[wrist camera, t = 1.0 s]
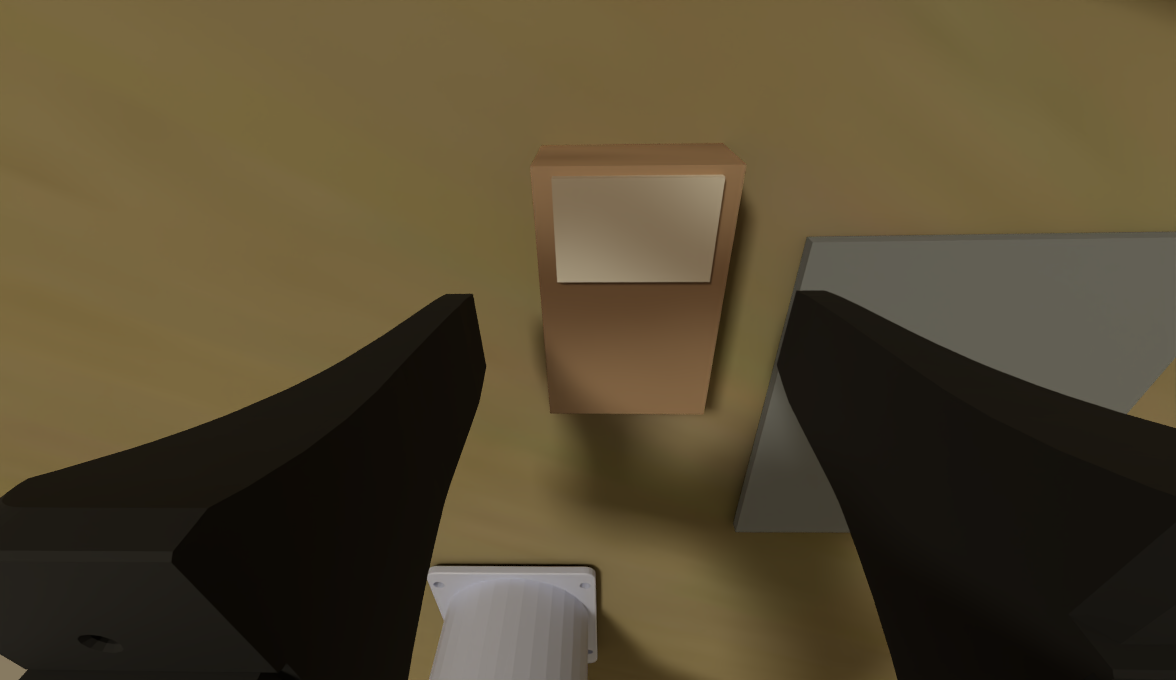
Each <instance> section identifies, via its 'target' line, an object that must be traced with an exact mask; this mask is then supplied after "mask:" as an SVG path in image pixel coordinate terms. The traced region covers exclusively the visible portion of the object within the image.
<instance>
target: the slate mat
mask: <svg viewBox="0 0 1176 680" xmlns="http://www.w3.org/2000/svg"><path fill="white" fill-rule="evenodd" d="M803 290H825V291H828V292H831V293H833V294H836V295H838V296H841V297H843V298H845V299H847V300H849V301H851V302H853V303H856V304H858V305H860V306H862V307H864V308H866V309H868V310H870V311H872V312H874V313H876V314H877V315H879V316H881V317H883V318H885V319H887V320H889V321H891V322H893V323H895V324H897V325H899V326H901V327H903V328H905V329H907V330H909V331H911V332H913V333H915V334H917V335H919V336H922V337H924V338H926V339H928V340H930V341H932V342H934V343H936V344H938V345H941V346H943V347H945V348H947V349H949V350H952V351H954V352H956V353H958V354H961V355H963V356H965V357H967V358H969V359H972V360H974V361H976V362H979V363H981V364H984V365H986V366H989V367H991V368H993V369H996V370H999V371H1001V372H1004V373H1006V374H1009V375H1012V376H1014V377H1017V378H1020V379H1022V380H1025V381H1028V382H1030V383H1033V384H1035V385H1038V386H1041V387H1044V388H1047V389H1049V390H1052V391H1055V392H1058V393H1061V394H1064V395H1067V396H1070V397H1073V398H1076V399H1079V400H1083V401H1086V402H1089V403H1092V404H1095V405H1098V406H1102V407H1105V408H1108V409H1111V410H1114V411H1117V412H1121V413H1124V414H1127V413H1128V412H1129V411H1130V410H1131V408H1132V407H1133V406H1134V405H1135V404H1136V403H1137V401H1138V400H1139V399H1140V398H1141V397H1142V396H1143V394H1144V393H1145V392H1146V391H1147V390H1148V389H1149V387H1150V386H1151V385H1152V384H1153V383H1154V382H1155V381H1156V379H1157V378H1158V377H1159V376H1160V375H1161V374H1162V372H1163V371H1164V370H1165V369H1166V368H1167V367H1168V365H1169V364H1170V363H1171V362H1172V361H1173V360H1174V358H1175V357H1176V232H1122V233H1050V234H978V235H907V236H835V237H807V239H806V243H805V247H804V251H803V255H802V258H801V262H800V266H799V270H798V274H797V278H796V282H795V286H794V290H793V293H792V297H791V301H790V305H789V309H788V313H787V317H786V321H785V324H784V328H783V332H782V336H781V340H780V344H779V348H778V352H777V356H776V359H775V363H774V367H773V371H772V375H771V379H770V383H769V387H768V391H767V394H766V398H765V402H764V406H763V410H762V414H761V418H760V422H759V425H758V429H757V433H756V437H755V441H754V445H753V449H752V453H751V457H750V460H749V464H748V468H747V472H746V476H745V480H744V484H743V488H742V492H741V495H740V499H739V503H738V507H737V511H736V515H735V519H734V523H733V525H734V528H735V532H850V531H849V528H848V525H847V523H846V520H845V517H844V515H843V512H842V509H841V507H840V504H839V502H838V500H837V498H836V496H835V493H834V491H833V489H832V487H831V485H830V483H829V481H828V479H827V477H826V475H825V473H824V471H823V469H822V467H821V465H820V463H819V461H818V459H817V457H816V455H815V453H814V451H813V449H812V448H811V446H810V444H809V442H808V440H807V438H806V436H805V434H804V432H803V430H802V428H801V426H800V424H799V422H798V420H797V418H796V416H795V414H794V412H793V410H792V408H791V406H790V404H789V402H788V399H787V396H786V393H785V390H784V387H783V384H782V381H781V378H780V374H779V371H778V368H777V361H778V357H779V354H780V350H781V346H782V342H783V339H784V335H785V331H786V327H787V323H788V320H789V316H790V312H791V308H792V305H793V301H794V297H795V293H796V291H803Z"/></svg>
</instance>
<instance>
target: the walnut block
mask: <svg viewBox="0 0 1176 680" xmlns="http://www.w3.org/2000/svg"><path fill="white" fill-rule="evenodd" d="M530 170H531V183H532V195H533V207H534V220H535V232H536V244H537V256H538V269H539V281H540V293H541V306H542V318H543V330H544V342H545V355H546V367H547V379H548V392H549V404H550V413H561V414H704V410H705V404H706V398H707V392H708V386H709V380H710V375H711V369H712V363H713V357H714V351H715V345H716V340H717V334H718V328H719V322H720V316H721V310H722V305H723V299H724V293H725V287H726V281H727V275H728V270H729V264H730V258H731V252H732V246H733V240H734V235H735V229H736V223H737V217H738V211H739V205H740V200H741V194H742V188H743V182H744V176H745V170H746V164H745V163H744V162H743V161H742V160H741V159H740V158H739V157H738V156H737V155H735V154H734V153H733V152H732V151H731V150H730V149H729V148H728V147H727V146H726V145H724V144H723V143H704V144H619V145H541V147H540V149H539V151H538V153H537V155H536V156H535V158H534V160H533V162H532V164H531V166H530Z"/></svg>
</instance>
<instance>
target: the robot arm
mask: <svg viewBox="0 0 1176 680" xmlns="http://www.w3.org/2000/svg"><path fill="white" fill-rule="evenodd" d="M777 368H778V371H779V374H780V378H781V381H782V384H783V387H784V390H785V393H786V396H787V399H788V402H789V404H790V406H791V408H792V410H793V412H794V414H795V416H796V418H797V420H798V422H799V424H800V426H801V428H802V430H803V432H804V434H805V436H806V438H807V440H808V442H809V444H810V446H811V448H812V449H813V451H814V453H815V455H816V457H817V459H818V461H819V463H820V465H821V467H822V469H823V471H824V473H825V475H826V477H827V479H828V481H829V483H830V485H831V487H832V489H833V491H834V493H835V496H836V498H837V500H838V502H839V504H840V507H841V509H842V512H843V515H844V517H845V520H846V523H847V525H848V528H849V531H850V533H851V536H852V539H853V541H854V544H855V546H856V549H857V552H858V555H859V558H860V561H861V564H862V567H863V570H864V572H865V575H866V578H867V581H868V584H869V587H870V590H871V593H872V596H873V599H874V602H875V605H876V608H877V612H878V615H879V618H880V621H881V625H882V628H883V631H884V634H885V638H886V641H887V644H888V647H889V651H890V654H891V657H892V661H893V664H894V668H895V672H896V675H897V679H898V680H1176V428H1173V427H1169V426H1166V425H1162V424H1159V423H1155V422H1152V421H1148V420H1145V419H1141V418H1138V417H1134V416H1131V415H1127V414H1124V413H1121V412H1117V411H1114V410H1111V409H1108V408H1105V407H1102V406H1098V405H1095V404H1092V403H1089V402H1086V401H1083V400H1079V399H1076V398H1073V397H1070V396H1067V395H1064V394H1061V393H1058V392H1055V391H1052V390H1049V389H1047V388H1044V387H1041V386H1038V385H1035V384H1033V383H1030V382H1028V381H1025V380H1022V379H1020V378H1017V377H1014V376H1012V375H1009V374H1006V373H1004V372H1001V371H999V370H996V369H993V368H991V367H989V366H986V365H984V364H981V363H979V362H976V361H974V360H972V359H969V358H967V357H965V356H963V355H961V354H958V353H956V352H954V351H952V350H949V349H947V348H945V347H943V346H941V345H938V344H936V343H934V342H932V341H930V340H928V339H926V338H924V337H922V336H919V335H917V334H915V333H913V332H911V331H909V330H907V329H905V328H903V327H901V326H899V325H897V324H895V323H893V322H891V321H889V320H887V319H885V318H883V317H881V316H879V315H877V314H876V313H874V312H872V311H870V310H868V309H866V308H864V307H862V306H860V305H858V304H856V303H853V302H851V301H849V300H847V299H845V298H843V297H841V296H838V295H836V294H833V293H831V292H828V291H825V290H803V291H796V293H795V297H794V301H793V305H792V308H791V312H790V316H789V320H788V323H787V327H786V331H785V335H784V339H783V342H782V346H781V350H780V354H779V357H778V361H777ZM485 370H486V363H485V357H484V352H483V346H482V341H481V336H480V330H479V325H478V319H477V314H476V309H475V303H474V298H473V294H445V295H444V296H442V297H440V298H438V299H436V300H435V301H433V302H432V303H430V304H429V305H427V306H426V307H424V308H423V309H421V310H420V311H418V312H417V313H415V314H414V315H412V316H411V317H410V318H408V319H407V320H405V321H404V322H402V323H401V324H399V325H398V326H396V327H395V328H393V329H392V330H390V331H389V332H387V333H386V334H384V335H383V336H381V337H380V338H378V339H377V340H375V341H373V342H372V343H370V344H368V345H367V346H365V347H364V348H362V349H360V350H359V351H357V352H355V353H354V354H352V355H351V356H349V357H347V358H346V359H344V360H342V361H341V362H339V363H337V364H335V365H334V366H332V367H330V368H328V369H326V370H324V371H322V372H321V373H319V374H317V375H315V376H313V377H311V378H309V379H307V380H305V381H303V382H301V383H299V384H297V385H295V386H293V387H291V388H289V389H286V390H284V391H282V392H280V393H277V394H275V395H273V396H270V397H268V398H266V399H263V400H261V401H259V402H256V403H254V404H252V405H249V406H247V407H245V408H242V409H240V410H238V411H235V412H233V413H231V414H228V415H226V416H223V417H221V418H218V419H215V420H213V421H210V422H207V423H205V424H202V425H199V426H196V427H194V428H191V429H188V430H185V431H182V432H180V433H177V434H174V435H171V436H168V437H165V438H162V439H159V440H156V441H153V442H150V443H147V444H144V445H141V446H138V447H135V448H132V449H129V450H125V451H122V452H118V453H115V454H112V455H108V456H105V457H101V458H98V459H95V460H91V461H88V462H84V463H81V464H78V465H74V466H71V467H67V468H64V469H61V470H57V471H54V472H50V473H47V474H43V475H39V476H35V477H32V478H28V479H27V480H25V481H23V482H21V483H20V484H18V485H17V486H15V487H14V488H13V489H11V490H10V491H9V492H7V493H6V494H5V495H3V496H2V497H1V498H0V654H1V655H2V656H4V657H6V658H7V659H9V660H11V661H13V662H14V663H16V664H18V665H19V666H21V667H23V668H24V669H28V670H27V671H26V672H25V673H24V675H23V676H22V677H21V678H20V679H19V680H408V676H409V670H410V664H411V658H412V653H413V647H414V642H415V637H416V632H417V626H418V621H419V616H420V611H421V606H422V600H423V595H424V590H425V586H426V581H427V580H428V583H429V585H430V588H431V590H432V593H433V595H434V598H435V600H436V602H437V605H438V607H439V610H440V612H441V615H442V617H443V620H444V624H443V628H442V632H441V635H440V639H439V643H438V647H437V651H436V655H435V658H434V662H433V666H432V670H431V674H430V678H429V680H588V663H593V662H595V661H597V615H596V573H595V570H593V569H592V568H590V567H585V566H433V567H431V568H430V569H429V567H430V563H431V558H432V553H433V549H434V544H435V540H436V536H437V532H438V528H439V523H440V519H441V515H442V511H443V507H444V503H445V499H446V496H447V493H448V490H449V486H450V483H451V481H452V478H453V475H454V472H455V469H456V467H457V464H458V461H459V458H460V455H461V453H462V450H463V447H464V444H465V441H466V439H467V436H468V433H469V430H470V427H471V425H472V422H473V419H474V416H475V413H476V410H477V407H478V404H479V400H480V396H481V391H482V386H483V381H484V376H485Z"/></svg>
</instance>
